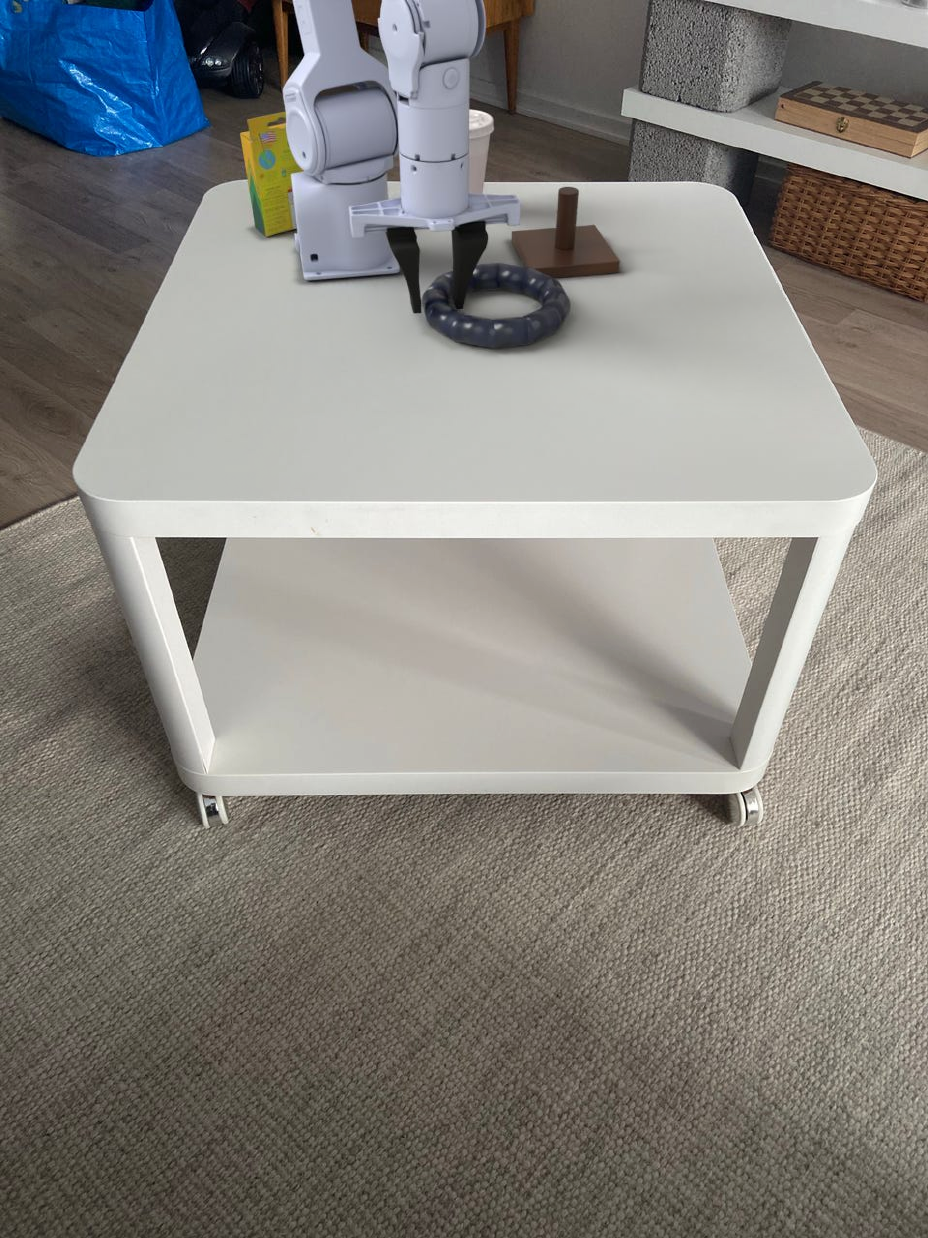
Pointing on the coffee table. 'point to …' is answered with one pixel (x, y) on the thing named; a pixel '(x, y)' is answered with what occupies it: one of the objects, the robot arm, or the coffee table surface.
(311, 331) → the coffee table surface
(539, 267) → the wooden ring toss peg
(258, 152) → the crayon box
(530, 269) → the dark blue ring
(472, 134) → the smoothie
